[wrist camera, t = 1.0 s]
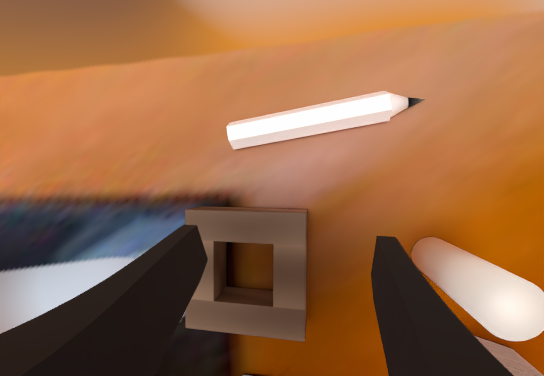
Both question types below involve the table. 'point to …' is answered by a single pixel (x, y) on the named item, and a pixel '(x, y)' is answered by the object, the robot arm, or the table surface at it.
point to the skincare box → (510, 359)
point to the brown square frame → (244, 301)
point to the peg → (483, 289)
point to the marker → (317, 119)
